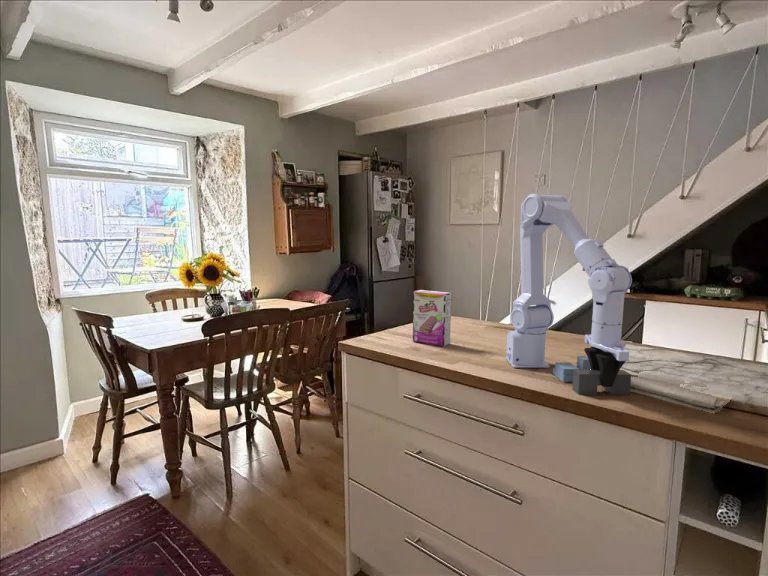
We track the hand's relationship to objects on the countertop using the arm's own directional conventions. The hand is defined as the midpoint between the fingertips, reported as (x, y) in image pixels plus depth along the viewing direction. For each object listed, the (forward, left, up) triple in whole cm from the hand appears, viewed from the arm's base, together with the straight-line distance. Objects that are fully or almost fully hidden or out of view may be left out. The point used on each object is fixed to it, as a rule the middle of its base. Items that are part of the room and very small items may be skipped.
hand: (602, 383), depth 92 cm
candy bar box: (-33, +41, -2) cm, 53 cm away
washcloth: (+15, -1, -3) cm, 15 cm away
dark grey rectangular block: (0, 0, -2) cm, 2 cm away
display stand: (0, +9, -2) cm, 9 cm away
